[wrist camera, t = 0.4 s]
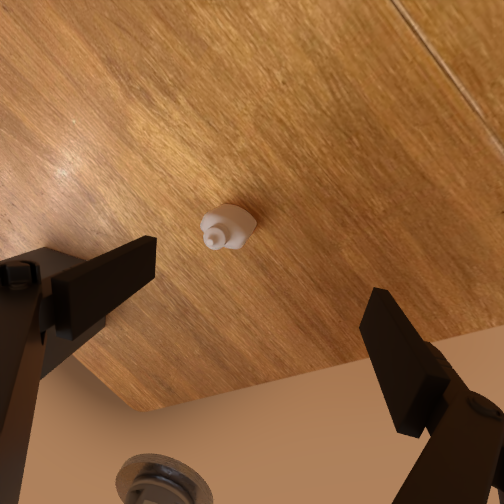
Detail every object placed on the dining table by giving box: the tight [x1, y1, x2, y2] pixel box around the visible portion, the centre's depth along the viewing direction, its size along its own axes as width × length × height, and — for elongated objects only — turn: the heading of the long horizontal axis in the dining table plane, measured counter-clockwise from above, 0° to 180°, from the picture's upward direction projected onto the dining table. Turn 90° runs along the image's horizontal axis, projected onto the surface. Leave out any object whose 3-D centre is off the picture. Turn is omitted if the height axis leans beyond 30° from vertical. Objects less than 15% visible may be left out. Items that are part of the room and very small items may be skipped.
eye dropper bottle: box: [200, 204, 257, 250], centre depth 31 cm, size 4×6×12 cm
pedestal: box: [0, 247, 106, 380], centre depth 38 cm, size 12×12×18 cm
